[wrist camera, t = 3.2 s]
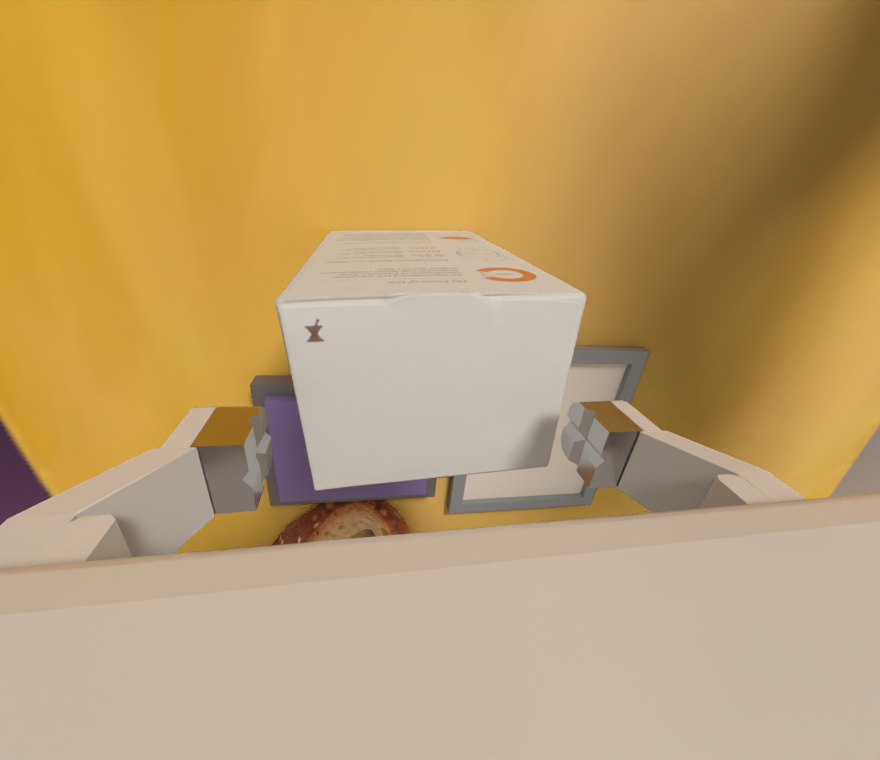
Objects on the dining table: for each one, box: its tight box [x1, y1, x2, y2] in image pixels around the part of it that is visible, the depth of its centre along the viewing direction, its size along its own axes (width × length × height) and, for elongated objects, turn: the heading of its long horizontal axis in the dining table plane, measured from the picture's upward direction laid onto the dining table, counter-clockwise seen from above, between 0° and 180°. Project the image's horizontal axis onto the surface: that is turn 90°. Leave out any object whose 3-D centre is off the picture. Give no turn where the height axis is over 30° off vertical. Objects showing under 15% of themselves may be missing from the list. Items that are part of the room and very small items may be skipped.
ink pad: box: [250, 376, 436, 506], centre depth 26 cm, size 12×10×2 cm
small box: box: [275, 230, 586, 491], centre depth 16 cm, size 8×6×13 cm
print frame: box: [447, 346, 650, 514], centre depth 28 cm, size 13×15×1 cm
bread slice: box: [273, 499, 410, 545], centre depth 32 cm, size 18×18×4 cm
